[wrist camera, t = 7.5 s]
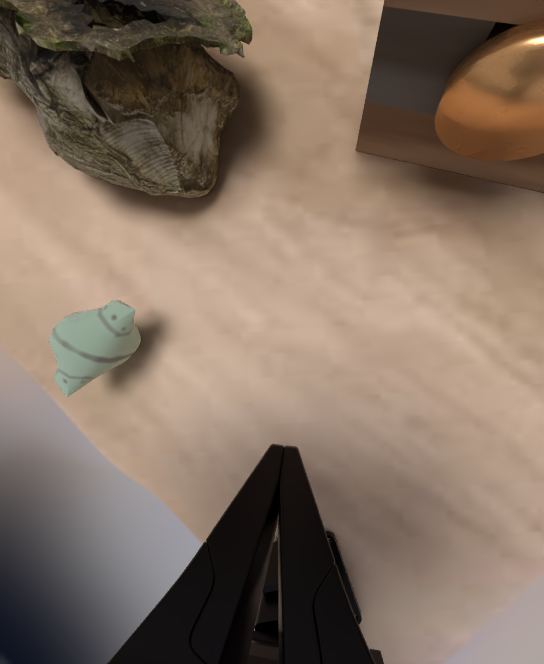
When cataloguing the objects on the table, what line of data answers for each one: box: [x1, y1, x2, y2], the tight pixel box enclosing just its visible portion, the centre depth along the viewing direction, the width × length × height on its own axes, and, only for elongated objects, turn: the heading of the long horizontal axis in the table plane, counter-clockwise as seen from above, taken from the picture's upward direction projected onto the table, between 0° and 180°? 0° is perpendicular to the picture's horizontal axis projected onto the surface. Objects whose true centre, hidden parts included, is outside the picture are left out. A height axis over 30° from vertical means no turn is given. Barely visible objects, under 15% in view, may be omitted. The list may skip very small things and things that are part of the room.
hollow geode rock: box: [0, 0, 252, 198], centre depth 20 cm, size 28×13×15 cm
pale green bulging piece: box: [49, 301, 141, 397], centre depth 21 cm, size 8×4×7 cm, turn 139°
